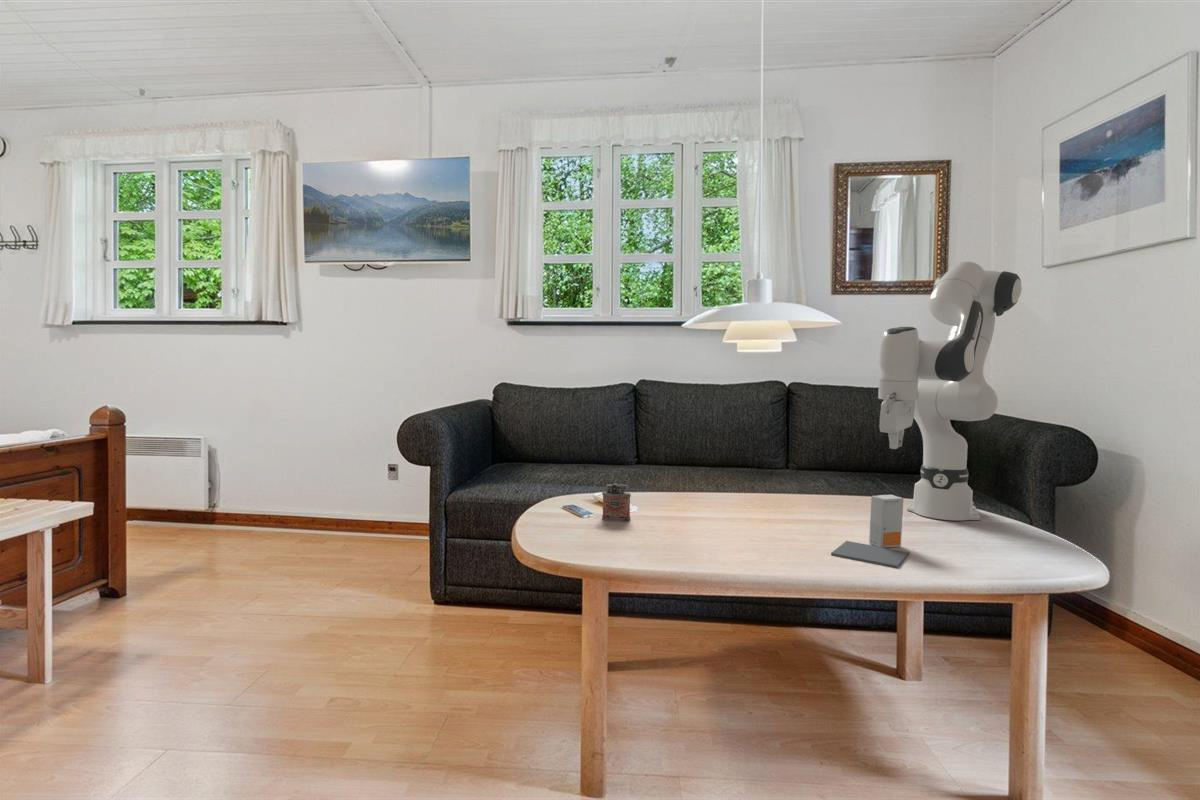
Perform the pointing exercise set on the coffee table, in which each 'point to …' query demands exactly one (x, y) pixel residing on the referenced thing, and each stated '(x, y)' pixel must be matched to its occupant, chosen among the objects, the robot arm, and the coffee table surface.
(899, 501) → the skincare box
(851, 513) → the coffee table surface
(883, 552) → the mat
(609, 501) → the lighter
